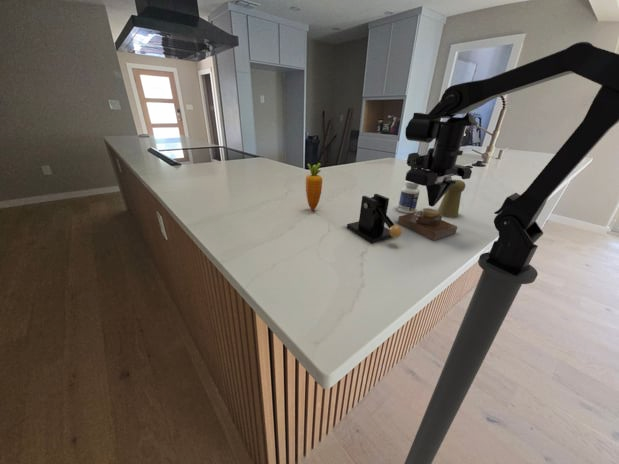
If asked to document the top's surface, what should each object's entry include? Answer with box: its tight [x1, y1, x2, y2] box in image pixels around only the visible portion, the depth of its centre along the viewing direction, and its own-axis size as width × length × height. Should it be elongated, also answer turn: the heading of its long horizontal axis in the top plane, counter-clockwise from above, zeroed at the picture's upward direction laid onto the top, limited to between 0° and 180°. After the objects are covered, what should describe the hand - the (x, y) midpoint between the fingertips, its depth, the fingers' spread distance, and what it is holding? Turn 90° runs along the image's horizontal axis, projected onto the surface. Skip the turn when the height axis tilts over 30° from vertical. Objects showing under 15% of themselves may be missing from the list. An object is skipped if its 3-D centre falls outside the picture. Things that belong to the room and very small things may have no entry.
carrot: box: [305, 162, 323, 212], centre depth 77 cm, size 5×5×15 cm
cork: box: [436, 179, 466, 219], centre depth 79 cm, size 6×6×11 cm
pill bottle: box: [397, 180, 421, 214], centre depth 81 cm, size 5×5×10 cm
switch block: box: [397, 210, 458, 241], centre depth 70 cm, size 12×9×4 cm
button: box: [421, 207, 438, 218], centre depth 69 cm, size 4×4×2 cm
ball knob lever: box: [370, 196, 403, 239], centre depth 62 cm, size 12×3×3 cm, turn 30°
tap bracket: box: [346, 193, 394, 244], centre depth 65 cm, size 10×8×10 cm
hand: (431, 205), depth 68 cm, fingers closed
